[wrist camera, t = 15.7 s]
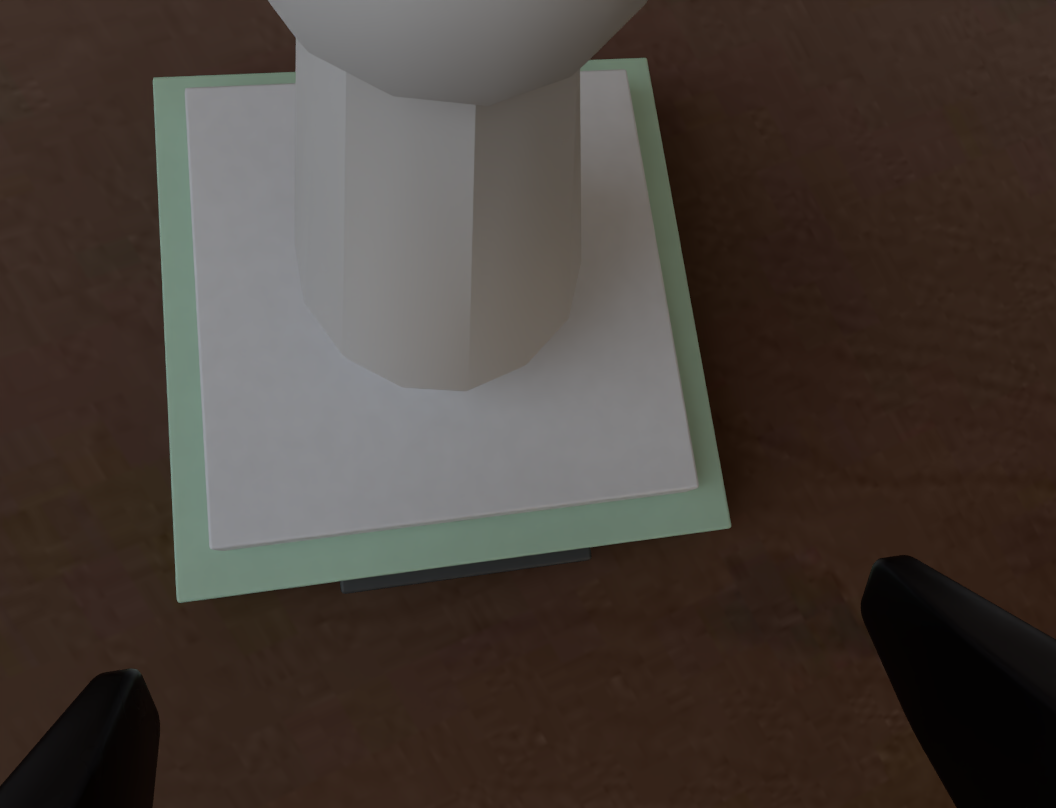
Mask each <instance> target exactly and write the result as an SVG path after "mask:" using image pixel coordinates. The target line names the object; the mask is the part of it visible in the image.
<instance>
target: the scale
mask: <svg viewBox="0 0 1056 808" xmlns="http://www.w3.org/2000/svg"><path fill="white" fill-rule="evenodd" d="M153 94H154V116H155V137H156V159H157V181H158V203H159V224H160V246H161V268H162V290H163V312H164V333H165V355H166V377H167V399H168V421H169V442H170V464H171V486H172V508H173V529H174V551H175V573H176V595H177V601H178V602H180V603H182V602H190V601H197V600H205V599H212V598H220V597H227V596H235V595H242V594H249V593H257V592H264V591H271V590H279V589H286V588H294V587H301V586H308V585H316V584H323V583H330V582H338V581H340V586H341V591H342V593H345V594H346V593H354V592H361V591H368V590H375V589H383V588H390V587H397V586H404V585H412V584H419V583H426V582H433V581H441V580H448V579H455V578H462V577H470V576H477V575H484V574H491V573H499V572H506V571H513V570H520V569H528V568H535V567H542V566H549V565H557V564H564V563H571V562H578V561H586V560H589V559H591V550H590V547H596V546H603V545H611V544H618V543H625V542H633V541H640V540H648V539H655V538H662V537H670V536H677V535H684V534H692V533H699V532H706V531H714V530H721V529H728V528H730V527H731V521H730V516H729V510H728V504H727V499H726V493H725V488H724V482H723V477H722V471H721V466H720V460H719V455H718V449H717V444H716V438H715V433H714V427H713V422H712V416H711V411H710V405H709V399H708V394H707V388H706V383H705V377H704V372H703V366H702V361H701V355H700V350H699V344H698V339H697V333H696V328H695V322H694V317H693V311H692V306H691V300H690V295H689V289H688V283H687V278H686V272H685V267H684V261H683V256H682V250H681V245H680V239H679V234H678V228H677V223H676V217H675V212H674V206H673V201H672V195H671V190H670V184H669V178H668V173H667V167H666V162H665V156H664V151H663V145H662V140H661V134H660V129H659V123H658V118H657V112H656V107H655V101H654V96H653V90H652V85H651V79H650V74H649V68H648V62H647V59H646V58H628V59H603V60H589V61H588V62H587V63H586V64H585V65H584V66H582V67H581V68H580V127H581V266H580V270H579V274H578V279H577V283H576V288H575V292H574V297H573V301H572V306H571V310H570V315H569V319H568V320H567V321H566V322H565V323H564V324H563V325H562V326H561V328H560V329H559V330H558V331H557V332H556V333H555V334H554V335H553V336H552V337H551V338H550V340H549V341H548V342H547V343H546V344H545V345H544V346H543V347H542V348H541V349H540V350H539V352H538V353H537V354H536V355H535V356H534V357H533V358H532V359H531V360H530V361H529V362H528V364H526V365H525V366H523V367H521V368H519V369H516V370H514V371H512V372H510V373H507V374H505V375H503V376H500V377H498V378H496V379H493V380H491V381H489V382H487V383H484V384H482V385H480V386H477V387H475V388H473V389H470V390H468V391H451V390H434V389H417V388H403V387H401V386H399V385H397V384H395V383H393V382H391V381H389V380H387V379H385V378H383V377H381V376H379V375H377V374H375V373H373V372H372V371H370V370H368V369H366V368H364V367H362V366H360V365H358V364H356V363H354V362H352V361H350V360H348V359H347V358H346V357H344V356H343V355H342V353H341V352H340V351H339V349H338V348H337V347H336V345H335V344H334V343H333V341H332V340H331V338H330V337H329V336H328V334H327V333H326V332H325V330H324V329H323V327H322V326H321V325H320V323H319V322H318V321H317V319H316V318H315V316H314V315H313V314H312V312H311V311H310V310H309V308H308V307H307V306H306V304H305V303H304V297H303V291H302V285H301V279H300V273H299V267H298V261H297V254H296V248H295V242H294V229H295V101H296V72H280V73H255V74H230V75H206V76H181V77H156V78H154V79H153Z"/></svg>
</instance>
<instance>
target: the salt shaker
mask: <svg viewBox="0 0 1056 808" xmlns="http://www.w3.org/2000/svg"><path fill="white" fill-rule="evenodd" d="M268 1H269V2H270V4H271V5H272V6H273V8H274V9H275V11H276V12H277V13H278V15H279V16H280V17H281V19H282V20H283V21H284V23H285V24H286V25H287V27H288V28H289V29H290V31H291V32H292V33H293V35H294V36H295V37H296V101H295V229H294V242H295V248H296V254H297V261H298V267H299V273H300V279H301V285H302V291H303V297H304V303H305V304H306V306H307V307H308V308H309V310H310V311H311V312H312V314H313V315H314V316H315V318H316V319H317V321H318V322H319V323H320V325H321V326H322V327H323V329H324V330H325V332H326V333H327V334H328V336H329V337H330V338H331V340H332V341H333V343H334V344H335V345H336V347H337V348H338V349H339V351H340V352H341V353H342V355H343V356H344V357H346V358H347V359H348V360H350V361H352V362H354V363H356V364H358V365H360V366H362V367H364V368H366V369H368V370H370V371H372V372H373V373H375V374H377V375H379V376H381V377H383V378H385V379H387V380H389V381H391V382H393V383H395V384H397V385H399V386H401V387H403V388H417V389H434V390H451V391H468V390H470V389H473V388H475V387H477V386H480V385H482V384H484V383H487V382H489V381H491V380H493V379H496V378H498V377H500V376H503V375H505V374H507V373H510V372H512V371H514V370H516V369H519V368H521V367H523V366H525V365H526V364H528V362H529V361H530V360H531V359H532V358H533V357H534V356H535V355H536V354H537V353H538V352H539V350H540V349H541V348H542V347H543V346H544V345H545V344H546V343H547V342H548V341H549V340H550V338H551V337H552V336H553V335H554V334H555V333H556V332H557V331H558V330H559V329H560V328H561V326H562V325H563V324H564V323H565V322H566V321H567V320H568V319H569V315H570V310H571V306H572V301H573V297H574V292H575V288H576V283H577V279H578V274H579V270H580V266H581V127H580V68H581V67H582V66H584V65H585V64H586V63H587V62H588V61H589V60H590V59H591V58H592V57H593V56H594V55H595V54H596V53H597V52H598V51H599V50H600V49H601V48H602V47H603V46H604V45H605V44H606V43H607V42H608V41H609V40H610V39H611V38H612V37H613V36H614V35H615V34H616V33H617V32H618V31H619V30H620V29H621V28H622V27H623V26H624V25H625V24H626V23H627V22H628V21H629V20H630V19H631V18H632V17H633V16H634V15H635V14H636V13H637V12H638V11H639V10H640V9H641V8H642V7H643V6H644V5H645V4H646V2H647V0H268Z"/></svg>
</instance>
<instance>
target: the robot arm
mask: <svg viewBox="0 0 1056 808" xmlns="http://www.w3.org/2000/svg"><path fill="white" fill-rule="evenodd" d="M861 614H862V618H863V621H864V623H865V626H866V628H867V630H868V632H869V635H870V637H871V639H872V641H873V644H874V646H875V648H876V650H877V653H878V655H879V657H880V659H881V662H882V664H883V666H884V668H885V671H886V673H887V675H888V677H889V680H890V682H891V684H892V686H893V688H894V691H895V693H896V695H897V697H898V700H899V702H900V704H901V706H902V709H903V711H904V713H905V715H906V717H907V719H908V721H909V723H910V725H911V727H912V730H913V731H914V733H915V735H916V737H917V739H918V741H919V742H920V744H921V746H922V748H923V750H924V751H925V753H926V755H927V757H928V758H929V760H930V762H931V764H932V765H933V767H934V769H935V771H936V772H937V774H938V776H939V778H940V779H941V781H942V783H943V785H944V786H945V788H946V790H947V792H948V793H949V795H950V797H951V799H952V800H953V802H954V804H955V806H956V807H957V808H1056V639H1054V638H1052V637H1050V636H1049V635H1047V634H1045V633H1044V632H1042V631H1040V630H1038V629H1037V628H1035V627H1033V626H1031V625H1030V624H1028V623H1026V622H1024V621H1023V620H1021V619H1019V618H1018V617H1016V616H1014V615H1012V614H1011V613H1009V612H1007V611H1005V610H1004V609H1002V608H1000V607H999V606H997V605H995V604H993V603H992V602H990V601H988V600H986V599H985V598H983V597H981V596H979V595H978V594H976V593H974V592H973V591H971V590H969V589H967V588H966V587H964V586H962V585H960V584H959V583H957V582H955V581H954V580H952V579H950V578H948V577H947V576H945V575H943V574H941V573H940V572H938V571H936V570H934V569H933V568H931V567H929V566H928V565H926V564H924V563H922V562H921V561H919V560H917V559H915V558H913V557H911V556H908V555H899V556H892V557H886V558H880V559H878V560H877V561H876V562H875V563H874V564H873V566H872V569H871V572H870V575H869V578H868V582H867V585H866V588H865V591H864V594H863V597H862V600H861ZM159 737H160V720H159V715H158V711H157V709H156V706H155V704H154V702H153V699H152V697H151V695H150V692H149V690H148V688H147V685H146V683H145V681H144V678H143V676H142V675H141V673H140V672H139V671H138V670H136V669H124V670H118V671H111V672H105V673H101V674H99V675H97V676H96V677H95V678H93V679H92V680H91V681H90V683H89V684H88V685H87V686H86V687H85V688H84V690H83V691H82V692H81V693H80V694H79V695H78V697H77V698H76V699H75V700H74V701H73V702H72V703H71V705H70V706H69V707H68V708H67V709H66V710H65V712H64V713H63V714H62V715H61V716H60V717H59V719H58V720H57V721H56V722H55V723H54V724H53V726H52V727H51V728H50V729H49V730H48V731H47V732H46V734H45V735H44V736H43V737H42V738H41V739H40V741H39V742H38V743H37V744H36V745H35V746H34V748H33V749H32V750H31V751H30V752H29V753H28V755H27V756H26V757H25V758H24V759H23V760H22V762H21V763H20V764H19V765H18V766H17V767H16V768H15V770H14V771H13V772H12V773H11V774H10V775H9V777H8V778H7V779H6V780H5V781H4V782H3V784H2V785H1V786H0V808H152V807H153V797H154V787H155V777H156V767H157V757H158V747H159Z"/></svg>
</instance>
